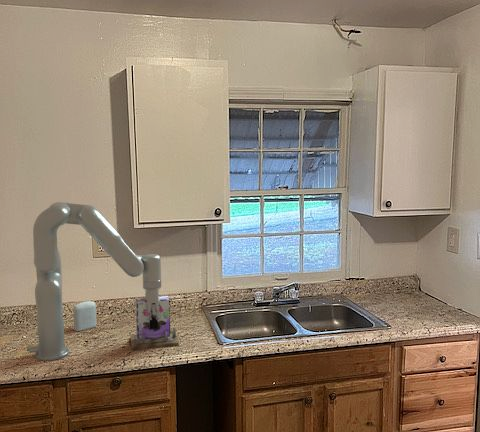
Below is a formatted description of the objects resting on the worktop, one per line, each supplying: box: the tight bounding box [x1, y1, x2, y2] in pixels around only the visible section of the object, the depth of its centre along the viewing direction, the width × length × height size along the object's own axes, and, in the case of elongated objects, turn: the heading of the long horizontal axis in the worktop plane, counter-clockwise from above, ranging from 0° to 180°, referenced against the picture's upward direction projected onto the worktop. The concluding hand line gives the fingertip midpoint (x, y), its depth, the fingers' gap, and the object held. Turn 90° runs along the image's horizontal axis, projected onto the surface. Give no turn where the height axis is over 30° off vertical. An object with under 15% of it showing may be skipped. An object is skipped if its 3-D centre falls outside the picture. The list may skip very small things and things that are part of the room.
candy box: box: [135, 295, 171, 340], centre depth 205 cm, size 14×6×16 cm, turn 105°
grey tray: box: [130, 326, 180, 351], centre depth 206 cm, size 19×14×5 cm
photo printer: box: [72, 300, 98, 332], centre depth 222 cm, size 10×4×12 cm, turn 134°
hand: (153, 325), depth 205 cm, fingers closed on candy box, 5 cm apart
